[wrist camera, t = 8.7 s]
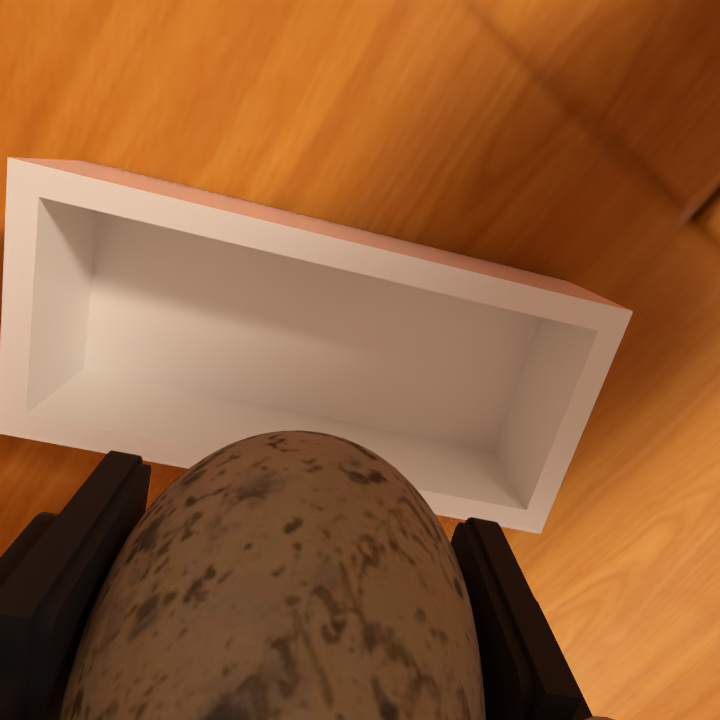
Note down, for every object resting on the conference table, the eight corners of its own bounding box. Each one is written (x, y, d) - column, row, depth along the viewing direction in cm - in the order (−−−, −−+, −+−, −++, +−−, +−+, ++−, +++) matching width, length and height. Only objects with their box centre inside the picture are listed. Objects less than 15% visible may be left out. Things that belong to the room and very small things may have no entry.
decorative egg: (480, 465, 12) (942, 1370, 3) (333, 634, 14) (338, 1608, 4) (260, 322, 11) (-131, 1160, 2) (121, 526, 13) (-513, 1601, 3)
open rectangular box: (566, 280, 26) (633, 311, 20) (499, 462, 29) (540, 533, 23) (87, 160, 23) (7, 157, 17) (69, 376, 26) (-4, 432, 20)
